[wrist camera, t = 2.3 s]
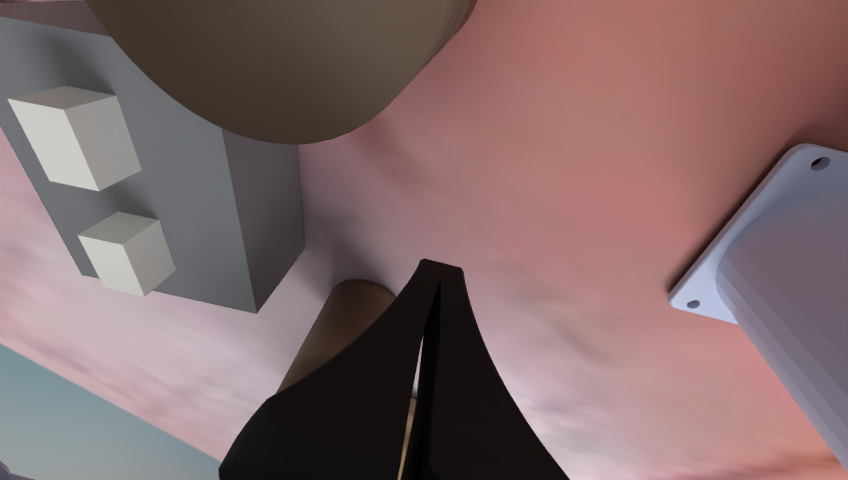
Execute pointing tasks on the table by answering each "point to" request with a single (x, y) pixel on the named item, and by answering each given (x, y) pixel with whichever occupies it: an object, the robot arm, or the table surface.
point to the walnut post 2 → (339, 324)
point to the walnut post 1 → (282, 57)
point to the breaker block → (142, 168)
